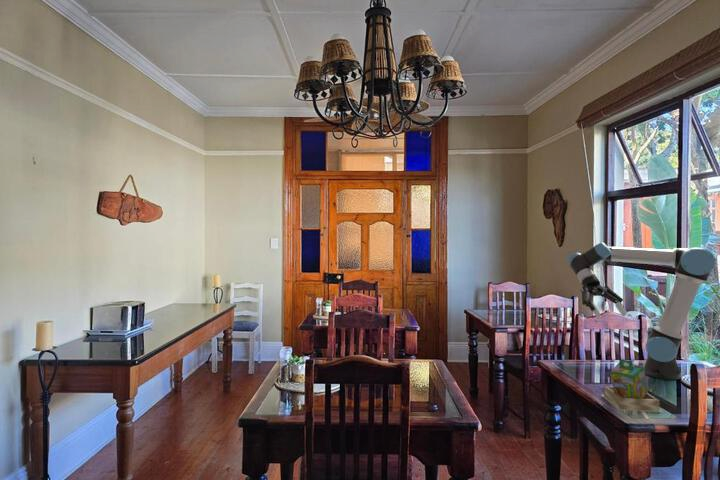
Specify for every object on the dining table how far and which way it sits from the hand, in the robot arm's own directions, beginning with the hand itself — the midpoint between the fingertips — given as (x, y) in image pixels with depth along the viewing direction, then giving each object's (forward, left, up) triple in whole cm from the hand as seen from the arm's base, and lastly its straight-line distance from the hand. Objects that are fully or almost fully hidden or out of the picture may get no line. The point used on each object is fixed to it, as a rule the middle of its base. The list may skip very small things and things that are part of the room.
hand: (611, 315), depth 194 cm
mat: (+4, +25, -31) cm, 40 cm away
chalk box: (+3, +25, -28) cm, 37 cm away
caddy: (+4, +25, -31) cm, 40 cm away
